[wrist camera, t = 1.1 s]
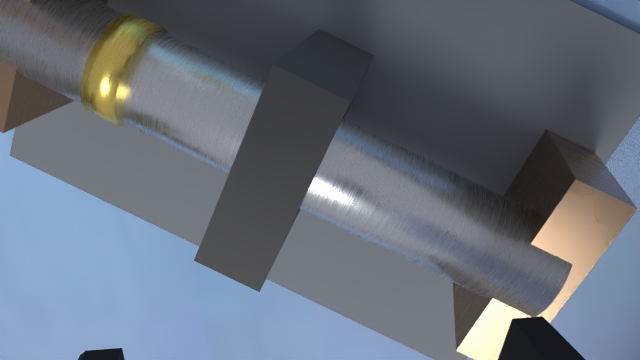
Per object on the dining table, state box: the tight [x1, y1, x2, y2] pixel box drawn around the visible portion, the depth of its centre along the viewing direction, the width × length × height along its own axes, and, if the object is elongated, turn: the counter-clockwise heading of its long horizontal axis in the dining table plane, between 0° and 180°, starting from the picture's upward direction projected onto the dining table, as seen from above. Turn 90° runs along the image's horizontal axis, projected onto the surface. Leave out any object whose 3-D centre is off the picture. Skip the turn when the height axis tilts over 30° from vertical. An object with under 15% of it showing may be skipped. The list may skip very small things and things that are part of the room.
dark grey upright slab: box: [194, 29, 374, 292], centre depth 18 cm, size 2×6×6 cm, turn 157°
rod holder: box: [0, 0, 637, 360], centre depth 19 cm, size 19×6×5 cm, turn 67°
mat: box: [10, 0, 640, 360], centre depth 21 cm, size 20×14×1 cm
